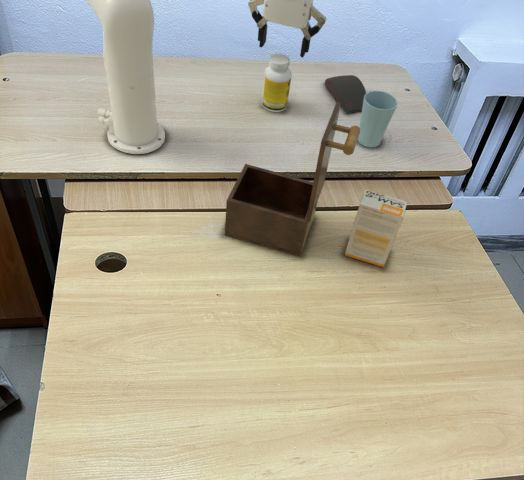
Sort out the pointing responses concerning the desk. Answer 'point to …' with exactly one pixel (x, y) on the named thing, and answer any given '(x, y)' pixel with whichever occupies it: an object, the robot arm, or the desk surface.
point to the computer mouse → (347, 92)
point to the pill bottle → (276, 83)
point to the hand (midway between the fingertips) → (282, 49)
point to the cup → (375, 117)
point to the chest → (269, 210)
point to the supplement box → (375, 228)
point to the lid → (325, 154)
